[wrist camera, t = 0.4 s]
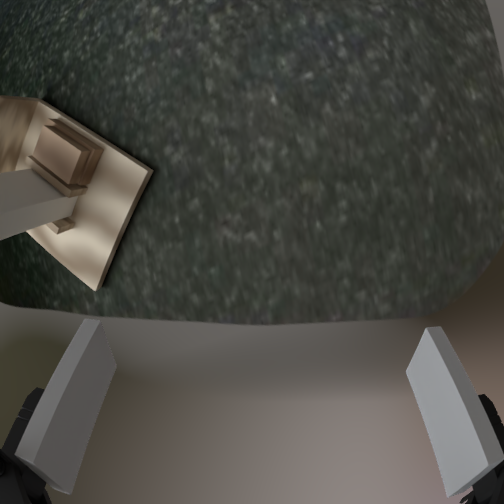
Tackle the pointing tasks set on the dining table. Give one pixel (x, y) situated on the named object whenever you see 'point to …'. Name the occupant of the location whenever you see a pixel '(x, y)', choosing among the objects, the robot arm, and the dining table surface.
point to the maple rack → (75, 190)
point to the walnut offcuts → (67, 152)
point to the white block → (30, 202)
